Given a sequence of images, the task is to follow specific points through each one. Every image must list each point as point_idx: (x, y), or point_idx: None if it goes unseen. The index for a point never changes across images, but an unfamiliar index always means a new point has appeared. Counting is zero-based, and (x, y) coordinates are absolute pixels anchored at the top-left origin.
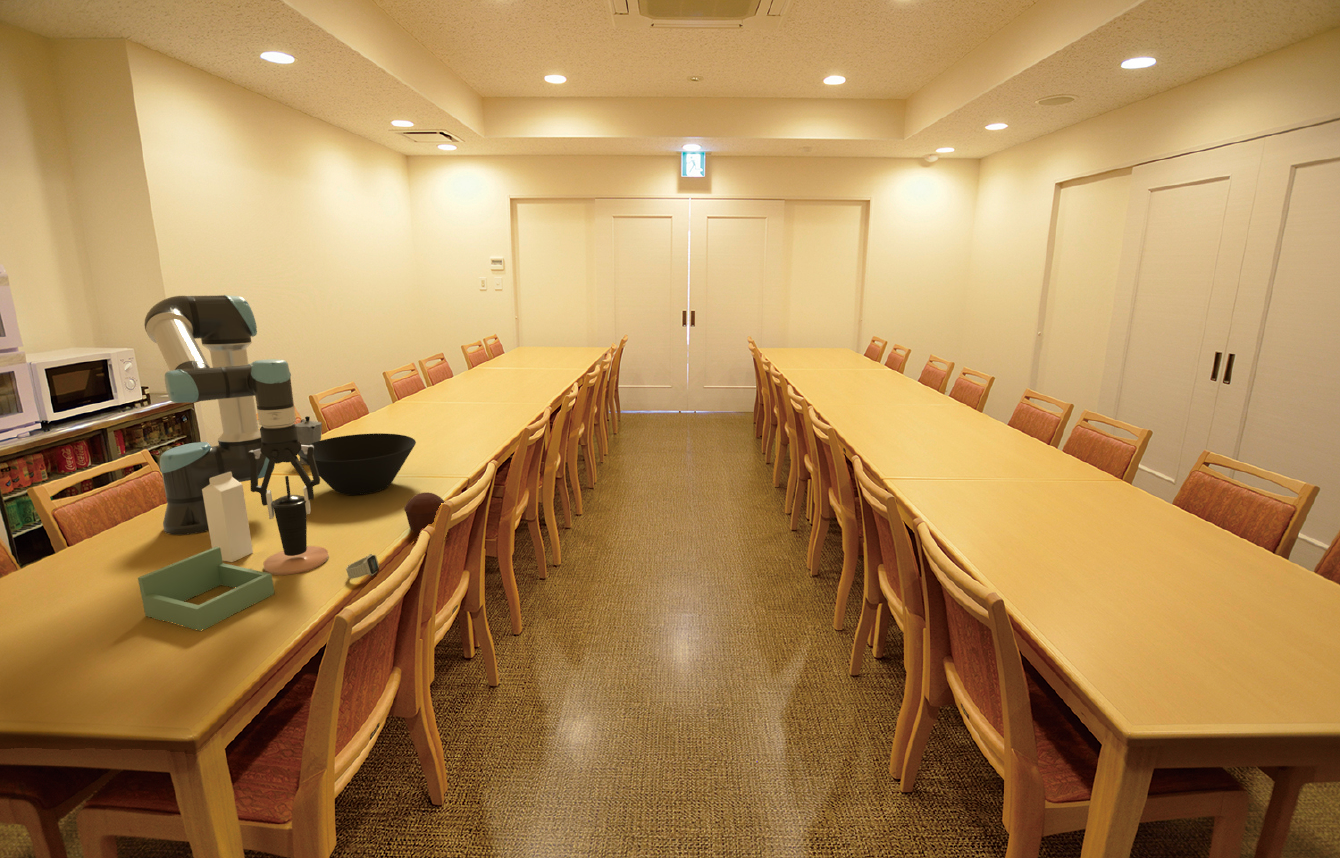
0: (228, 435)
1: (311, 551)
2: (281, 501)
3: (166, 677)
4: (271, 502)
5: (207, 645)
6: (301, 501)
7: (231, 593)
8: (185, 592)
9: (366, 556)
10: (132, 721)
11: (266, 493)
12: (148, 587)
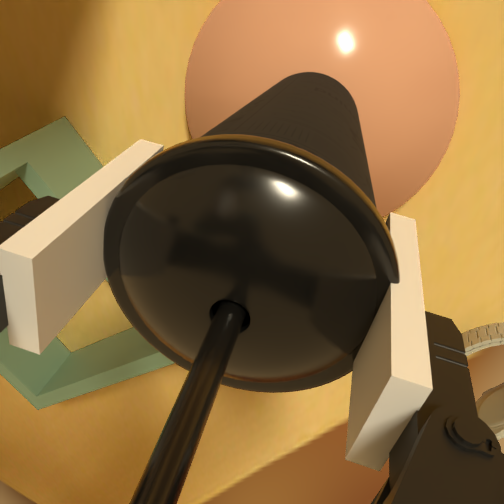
0: None
1: (391, 77)
2: (169, 340)
3: (54, 452)
4: (99, 258)
5: (93, 416)
6: (322, 374)
7: (96, 388)
8: None
9: (497, 438)
10: (44, 501)
11: (13, 341)
12: None
